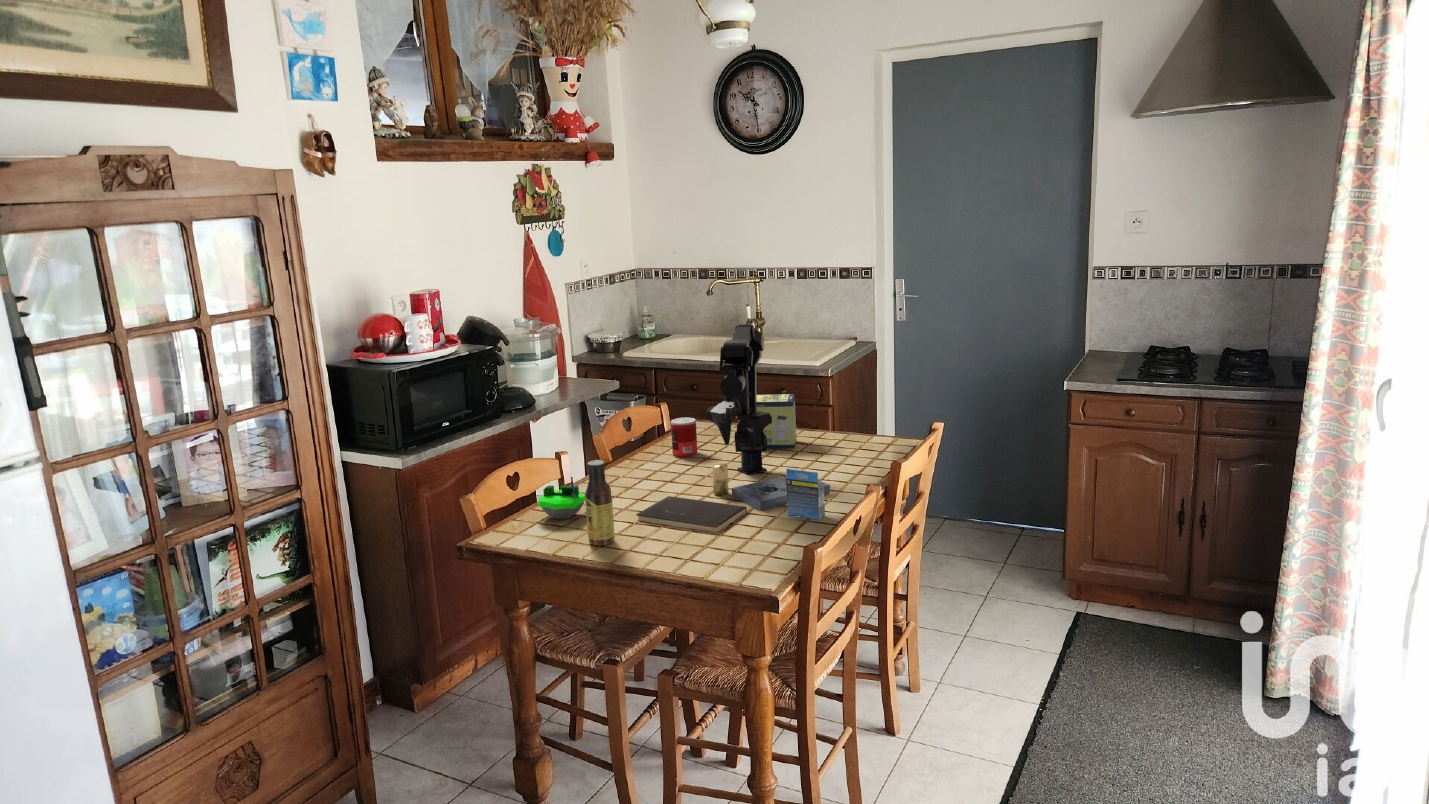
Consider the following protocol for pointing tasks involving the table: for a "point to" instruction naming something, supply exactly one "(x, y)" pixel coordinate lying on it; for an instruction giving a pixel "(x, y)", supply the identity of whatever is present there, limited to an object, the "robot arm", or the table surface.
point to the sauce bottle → (599, 506)
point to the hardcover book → (692, 513)
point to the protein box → (779, 420)
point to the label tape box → (804, 494)
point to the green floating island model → (561, 501)
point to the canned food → (684, 437)
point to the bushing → (720, 479)
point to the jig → (767, 493)
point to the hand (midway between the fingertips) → (739, 447)
